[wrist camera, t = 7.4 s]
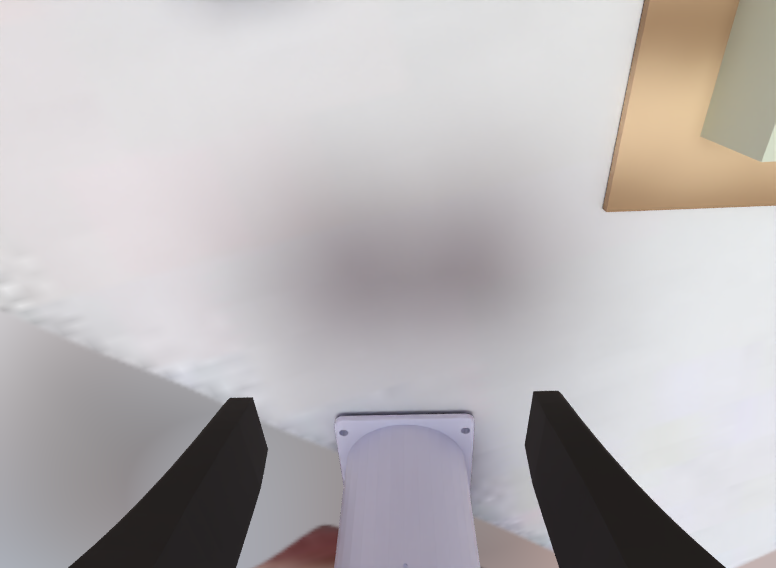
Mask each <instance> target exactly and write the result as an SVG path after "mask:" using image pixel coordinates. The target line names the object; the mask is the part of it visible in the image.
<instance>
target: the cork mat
mask: <svg viewBox="0 0 776 568" xmlns="http://www.w3.org/2000/svg"><path fill="white" fill-rule="evenodd" d="M739 1H740V0H645V1H644V6H643V11H642V16H641V21H640V26H639V31H638V36H637V41H636V46H635V51H634V55H633V60H632V65H631V70H630V75H629V80H628V85H627V90H626V95H625V100H624V105H623V110H622V115H621V120H620V125H619V130H618V135H617V140H616V145H615V150H614V155H613V160H612V165H611V170H610V175H609V180H608V185H607V190H606V195H605V200H604V205H603V209H604V210H605V211H606V212H621V211H647V210H672V209H698V208H724V207H750V206H776V161H775V162H760V161H757V160H755V159H753V158H750V157H748V156H746V155H743V154H741V153H738V152H736V151H734V150H731V149H729V148H727V147H724V146H722V145H719V144H717V143H715V142H712V141H710V140H707V139H705V138H703V137H700V135H701V132H702V128H703V125H704V121H705V118H706V114H707V111H708V107H709V104H710V101H711V97H712V94H713V90H714V87H715V83H716V80H717V77H718V73H719V70H720V66H721V63H722V59H723V56H724V53H725V49H726V46H727V42H728V39H729V35H730V32H731V29H732V25H733V22H734V18H735V15H736V11H737V8H738V5H739Z"/></svg>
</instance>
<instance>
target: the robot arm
mask: <svg viewBox="0 0 776 568" xmlns="http://www.w3.org/2000/svg"><path fill="white" fill-rule="evenodd" d="M474 425H475V423H474V418H473V416H472V415H470V414H419V415H368V416H340V417H338V418H336V419H335V424H334V428H335V435H336V441H337V447H338V454H339V460H340V466H341V472H342V479H343V485H344V489H343V498H342V506H341V515H340V523H339V532H338V540H337V549H336V557H335V566H334V568H481V567H480V561H479V554H478V547H477V540H476V533H475V526H474V519H473V512H472V505H471V499H470V486H471V471H472V456H473V440H474ZM465 427H466V428H465ZM464 428H465V429H464ZM343 430H346V431H343ZM525 449H526V454H527V459H528V464H529V469H530V474H531V479H532V483H533V487H534V490H535V494H536V497H537V500H538V503H539V506H540V509H541V513H542V516H543V519H544V522H545V525H546V528H547V531H548V534H549V537H550V541H551V544H552V547H553V550H554V553H555V556H556V559H557V562H558V565H559V568H726V567H724V566H723V565H722V564H721V563H720V562H718V561H717V560H716V559H715V558H714V557H713V556H712V555H711V554H709V553H708V552H707V551H706V550H705V549H704V548H703V547H702V546H700V545H699V544H698V543H697V542H696V541H695V540H694V539H693V538H692V537H690V536H689V535H688V534H687V533H686V532H685V531H684V530H683V529H682V528H681V527H680V526H679V525H678V524H676V523H675V522H674V521H673V520H672V519H671V518H670V517H669V516H668V515H667V514H666V513H665V512H664V511H663V510H662V509H661V508H660V507H659V506H658V505H657V504H656V503H655V502H654V501H653V500H652V499H651V498H650V497H649V496H648V495H647V494H646V493H645V492H644V491H643V490H642V488H641V487H640V486H639V485H638V484H637V483H636V482H635V481H634V480H633V479H632V478H631V477H630V476H629V475H628V474H627V472H626V471H625V470H624V469H623V468H622V467H621V466H620V465H619V463H618V462H617V461H616V460H615V459H614V458H613V457H612V455H611V454H610V453H609V452H608V451H607V450H606V449H605V447H604V446H603V445H602V444H601V443H600V442H599V440H598V439H597V438H596V437H595V436H594V434H593V433H592V432H591V431H590V429H589V428H588V427H587V426H586V425H585V423H584V422H583V421H582V420H581V418H580V417H579V416H578V415H577V413H576V412H575V411H574V409H573V408H572V407H571V406H570V404H569V403H568V402H567V400H566V399H565V398H564V396H563V395H562V394H561V393H560V392H559V391H534V392H533V398H532V404H531V410H530V416H529V422H528V428H527V434H526V441H525ZM267 451H268V448H267V444H266V441H265V438H264V434H263V431H262V427H261V424H260V421H259V417H258V414H257V410H256V407H255V404H254V400H253V397H252V398H229V399H228V400H227V401H226V403H225V404H224V405H223V406H222V407H221V409H220V410H219V411H218V412H217V413H216V415H215V416H214V417H213V418H212V420H211V421H210V422H209V423H208V424H207V426H206V427H205V428H204V429H203V430H202V432H201V433H200V434H199V435H198V437H197V438H196V439H195V440H194V441H193V442H192V444H191V445H190V446H189V447H188V448H187V449H186V451H185V452H184V453H183V454H182V455H181V456H180V458H179V459H178V460H177V461H176V462H175V463H174V464H173V466H172V467H171V468H170V469H169V470H168V471H167V472H166V473H165V475H164V476H163V477H162V478H161V479H160V480H159V481H158V482H157V483H156V485H154V486H153V488H152V489H151V490H150V491H149V492H148V493H147V494H146V495H145V496H144V497H143V498H142V499H141V500H140V501H139V502H138V503H137V504H136V505H135V506H134V507H133V508H132V509H131V510H130V511H129V512H128V513H127V515H125V517H123V518H122V519H121V520H120V521H119V522H118V524H116V525H115V526H114V527H113V528H112V529H111V530H110V531H109V532H108V533H107V534H106V535H104V536H103V538H101V539H100V540H99V541H98V542H97V543H96V544H95V545H94V546H93V547H91V548H90V549H89V550H88V551H87V552H86V553H85V554H83V556H81V557H80V558H79V559H78V560H77V561H75V563H73V564H72V565H71V566H70V567H68V568H236V566H237V563H238V559H239V556H240V553H241V550H242V547H243V544H244V540H245V537H246V534H247V531H248V528H249V525H250V521H251V518H252V515H253V511H254V508H255V505H256V502H257V498H258V495H259V492H260V489H261V484H262V479H263V474H264V468H265V463H266V457H267Z"/></svg>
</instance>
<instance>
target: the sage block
mask: <svg viewBox="0 0 776 568" xmlns="http://www.w3.org/2000/svg"><path fill="white" fill-rule="evenodd" d="M700 137H703V138H705V139H707V140H710V141H712V142H715V143H717V144H719V145H722V146H724V147H727V148H729V149H731V150H734V151H736V152H738V153H741V154H743V155H746V156H748V157H750V158H753V159H755V160H757V161H760V162H775V161H776V0H740V1H739V5H738V8H737V11H736V15H735V18H734V22H733V25H732V29H731V32H730V35H729V39H728V42H727V46H726V49H725V53H724V56H723V59H722V63H721V66H720V70H719V73H718V77H717V80H716V83H715V87H714V90H713V94H712V97H711V101H710V104H709V107H708V111H707V114H706V118H705V121H704V125H703V128H702V132H701V135H700Z"/></svg>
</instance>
